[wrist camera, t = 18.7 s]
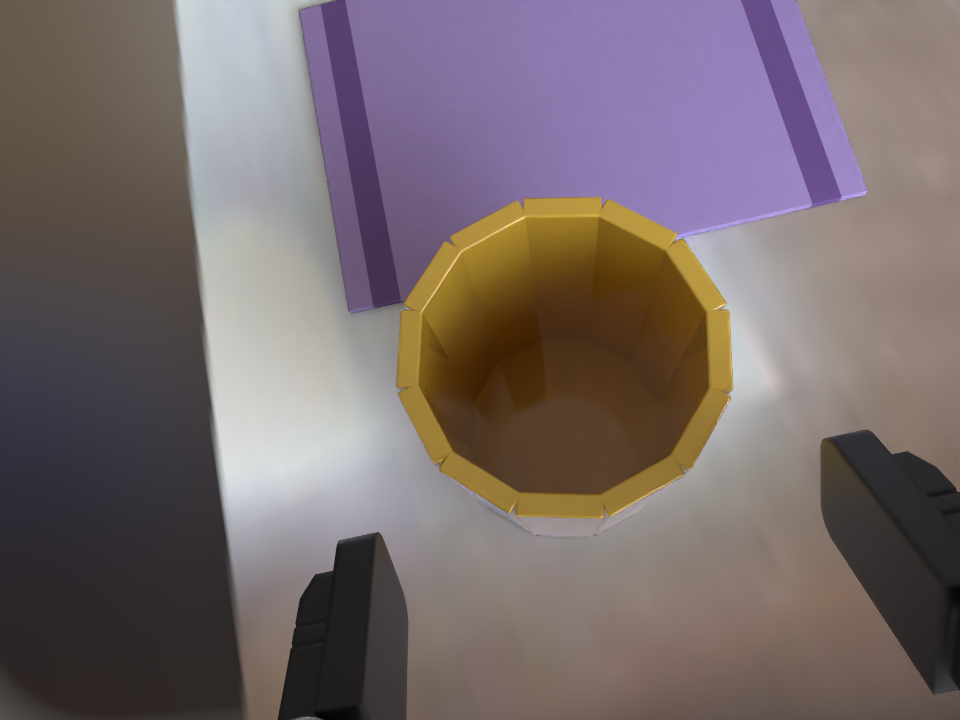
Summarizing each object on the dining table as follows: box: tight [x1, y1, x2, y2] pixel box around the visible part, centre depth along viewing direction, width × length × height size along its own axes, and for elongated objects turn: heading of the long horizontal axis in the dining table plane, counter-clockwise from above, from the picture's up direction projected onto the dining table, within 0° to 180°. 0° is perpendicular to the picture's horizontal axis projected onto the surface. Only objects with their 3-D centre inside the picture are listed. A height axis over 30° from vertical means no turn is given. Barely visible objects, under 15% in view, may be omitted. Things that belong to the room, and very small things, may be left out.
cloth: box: [299, 0, 867, 313], centre depth 27 cm, size 17×12×1 cm
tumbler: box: [396, 197, 733, 537], centre depth 20 cm, size 6×6×10 cm
